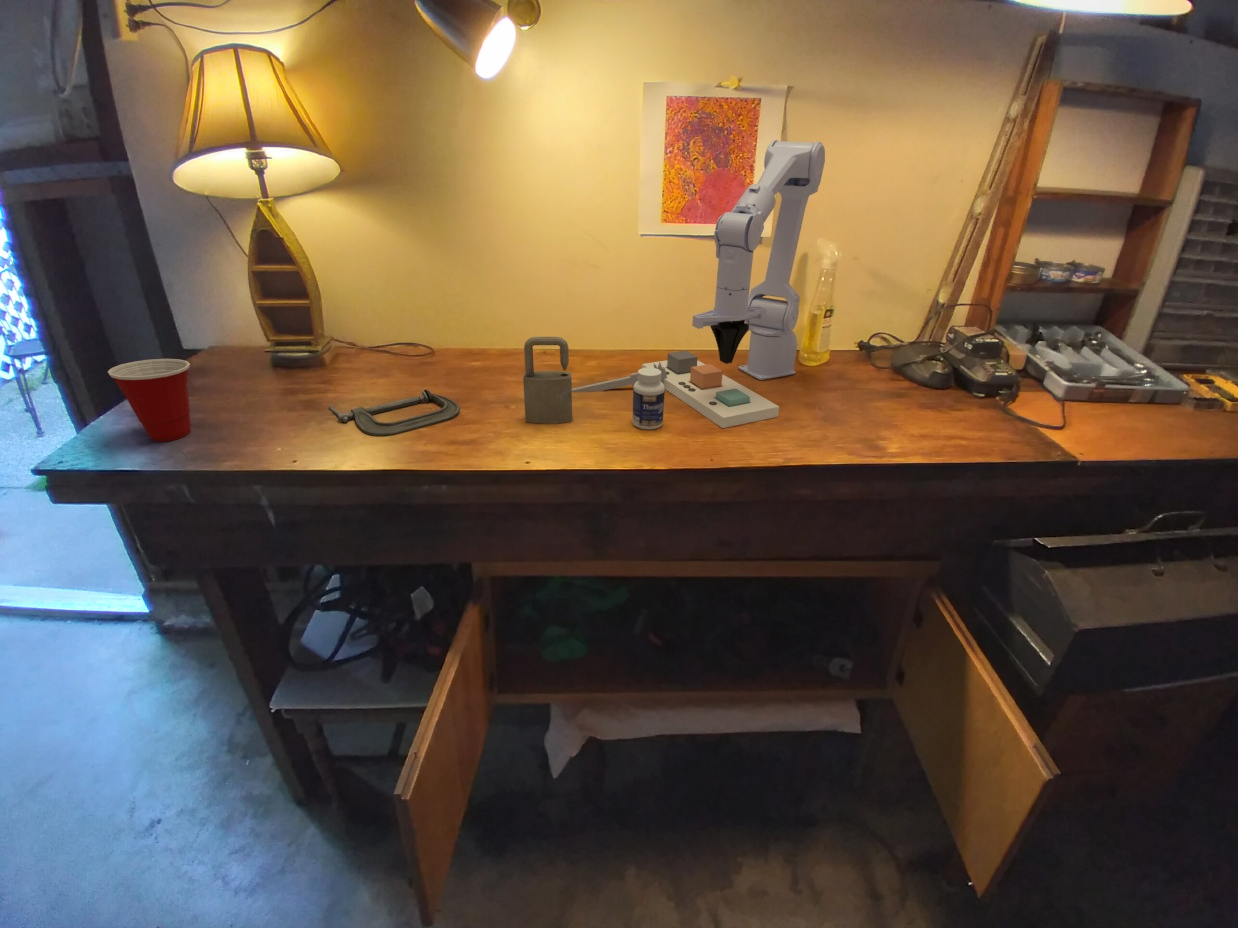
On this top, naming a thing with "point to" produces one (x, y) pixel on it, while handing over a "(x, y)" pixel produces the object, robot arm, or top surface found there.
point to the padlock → (547, 386)
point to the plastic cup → (157, 395)
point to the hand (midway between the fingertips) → (725, 361)
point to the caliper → (617, 382)
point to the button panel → (710, 405)
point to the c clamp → (392, 428)
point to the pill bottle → (648, 399)
